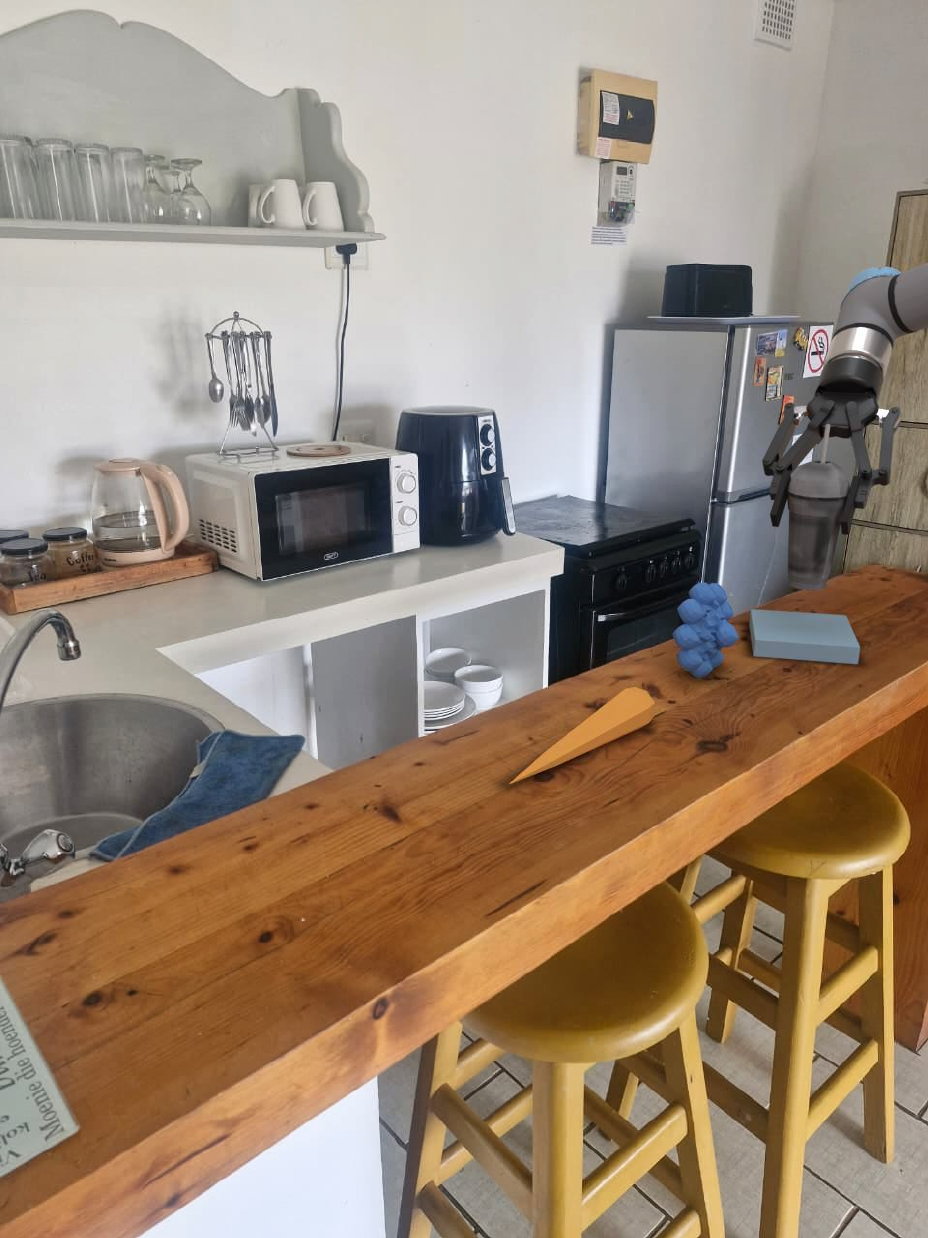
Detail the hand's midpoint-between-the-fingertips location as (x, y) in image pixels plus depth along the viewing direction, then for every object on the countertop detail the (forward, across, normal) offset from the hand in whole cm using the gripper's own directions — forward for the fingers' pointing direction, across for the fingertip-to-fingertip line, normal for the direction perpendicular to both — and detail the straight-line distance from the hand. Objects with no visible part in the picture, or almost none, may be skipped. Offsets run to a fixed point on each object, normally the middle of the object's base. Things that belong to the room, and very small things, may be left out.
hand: (808, 524), depth 103 cm
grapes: (+21, +7, -2) cm, 23 cm away
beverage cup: (+4, 0, -9) cm, 9 cm away
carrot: (+38, +12, +14) cm, 42 cm away
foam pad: (+9, 0, -14) cm, 17 cm away
